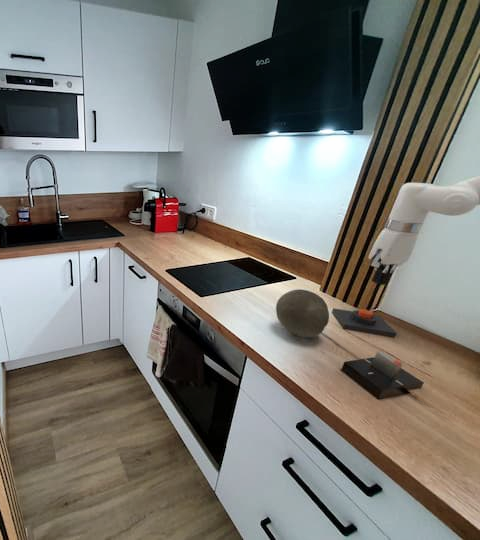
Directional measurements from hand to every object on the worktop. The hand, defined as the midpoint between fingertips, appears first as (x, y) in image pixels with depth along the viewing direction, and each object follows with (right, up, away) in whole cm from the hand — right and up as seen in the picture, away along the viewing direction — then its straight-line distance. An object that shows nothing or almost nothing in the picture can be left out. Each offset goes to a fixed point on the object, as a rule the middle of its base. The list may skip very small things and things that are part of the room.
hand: (378, 282), depth 91 cm
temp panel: (-15, -25, -16) cm, 33 cm away
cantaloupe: (-25, -17, +3) cm, 30 cm away
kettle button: (0, -11, +5) cm, 12 cm away
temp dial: (-15, -22, -17) cm, 32 cm away
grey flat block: (-1, -16, +7) cm, 17 cm away
